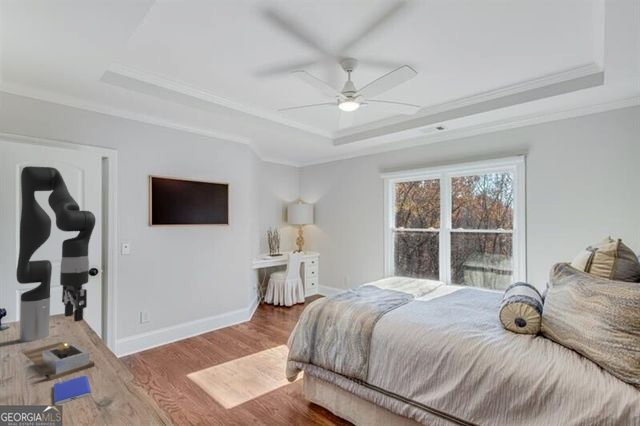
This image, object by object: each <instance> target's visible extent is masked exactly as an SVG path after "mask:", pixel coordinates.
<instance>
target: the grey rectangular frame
mask: <svg viewBox="0 0 640 426" xmlns="http://www.w3.org/2000/svg"><path fill="white" fill-rule="evenodd" d="M67 344H68V345H69V348H68V350H67V357H66V358H63V359H59V358H58V355H59V352H58V350H57V348H53V349H49V350H45V351H43V353H42V363H43V364H44V365H45V366H47V367H48V368H49V369H50V370H51V371H53V372H54V373H55V374H59V373H62V372H65V371H69V370H72V369H75V368H78V367H81V366H85V365H88V364H89V360H90V351H88V350H87V349H85V348H83V347H81V346H80V345H78V344H77V343H74V342H73V343H67Z"/></svg>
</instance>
